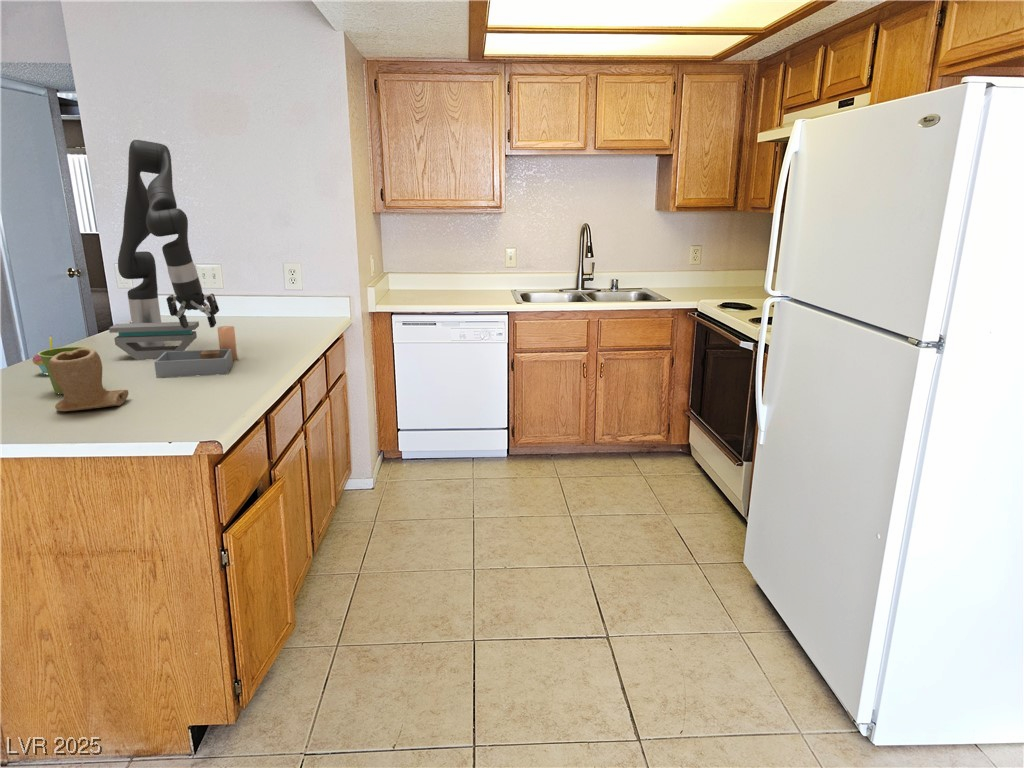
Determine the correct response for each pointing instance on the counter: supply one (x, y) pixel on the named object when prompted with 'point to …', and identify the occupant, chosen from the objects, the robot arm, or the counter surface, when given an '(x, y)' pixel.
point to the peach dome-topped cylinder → (227, 340)
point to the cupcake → (38, 360)
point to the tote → (192, 364)
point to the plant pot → (46, 357)
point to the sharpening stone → (152, 337)
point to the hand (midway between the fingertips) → (199, 326)
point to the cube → (210, 354)
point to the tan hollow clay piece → (82, 381)
